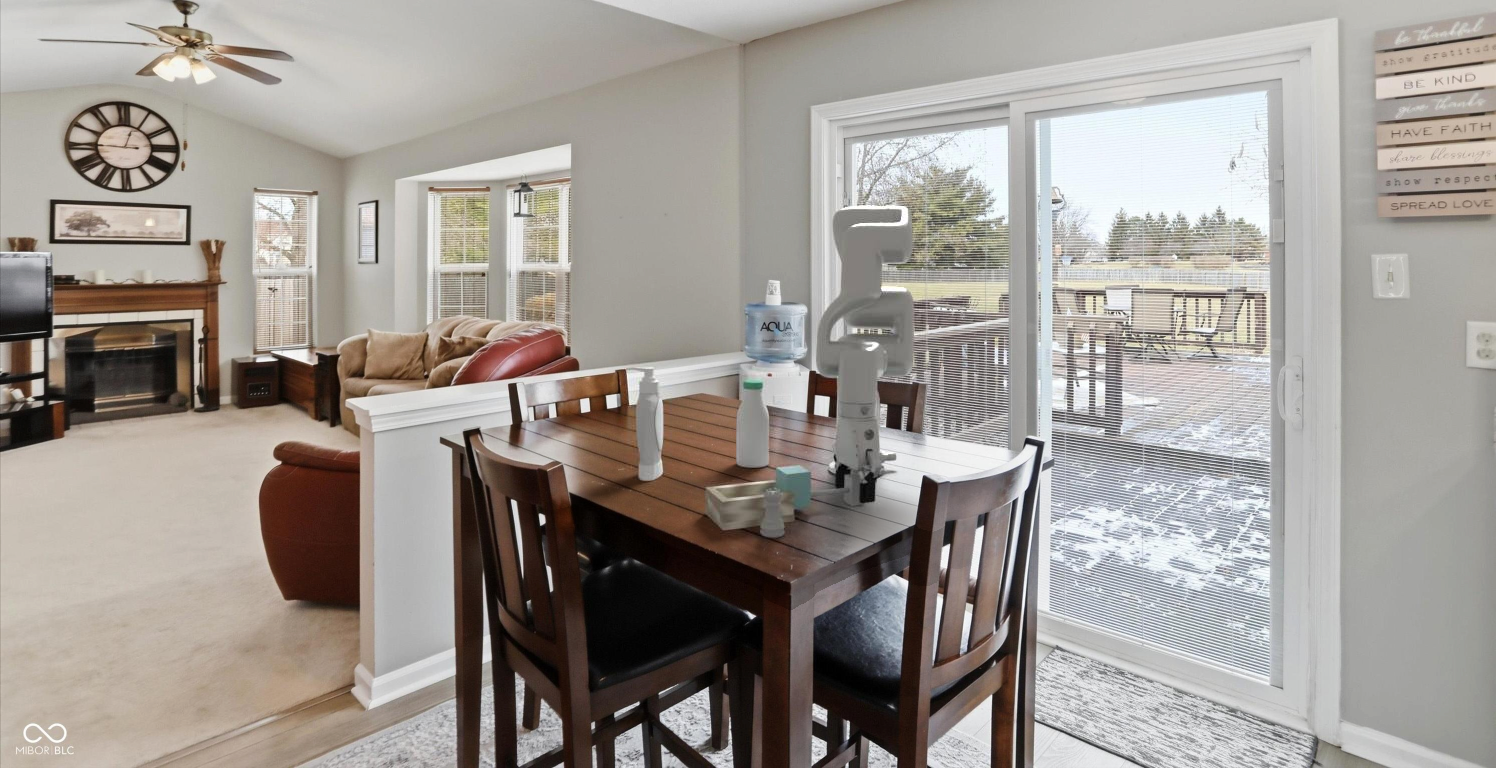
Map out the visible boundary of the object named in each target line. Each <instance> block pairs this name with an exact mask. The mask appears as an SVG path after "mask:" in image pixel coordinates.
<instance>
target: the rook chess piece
mask: <svg viewBox="0 0 1496 768" xmlns="http://www.w3.org/2000/svg"><path fill="white" fill-rule="evenodd" d="M764 497H765V499H766V502H765V505H766V511H765V517H764V519H763V522H762V523H761V525H760V526H759V527H760V530H759V533H760V534H761V536H763V537H765V538H769V539H778V538H781V537H783V536H784V534H785V533H786V530H785V524H784V523H785V522H782V520H781V517H780V510H779V506H780V505H781V503H780V502H779V500H780V498H781V497H782V494H781V493H780V490H779V489H777V488H774V491H772V488H769V491H768V489H766V492H765V494H764Z"/></svg>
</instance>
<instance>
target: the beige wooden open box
mask: <svg viewBox="0 0 1496 768" xmlns="http://www.w3.org/2000/svg"><path fill="white" fill-rule="evenodd" d="M769 488H772V491H774V488H776V480H774V479H770V480H761V481H755V482H754V481H752V482H744V483H743V482H741V483H735V484H726V485H725V484H724V485H718V486H715V485H714V486H707V487H705V507H704V511H705V515H706V516H707V517H708V518H709V519H711V520H712V522H714V523H715V525H717V526H718V527H719V528H720V529H721V530H722V531H729V530H737V529H738V530H739V529H745V528H752V527H760V525H761V523H762V522H763V519H764V517H765V511H766V505H765V502H766V499H765V497H764V494H765V492H766V489H768V491H769ZM781 494H782V497H781V498H780V500H779V502H780V503H781V505H780V506H779V510H780V517H781V520H782V522H783V523H789V522H795V510H794V493H793V492H791V491H789V492H781Z"/></svg>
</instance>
